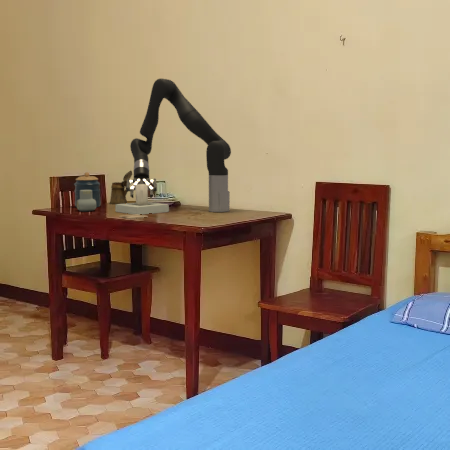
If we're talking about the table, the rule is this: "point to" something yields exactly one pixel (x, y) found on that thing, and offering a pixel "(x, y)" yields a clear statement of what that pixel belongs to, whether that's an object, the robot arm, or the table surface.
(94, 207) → the air freshener
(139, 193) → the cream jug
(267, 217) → the table surface
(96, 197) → the canister
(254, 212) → the table surface
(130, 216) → the cork coaster
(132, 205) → the board
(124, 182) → the wooden mug
